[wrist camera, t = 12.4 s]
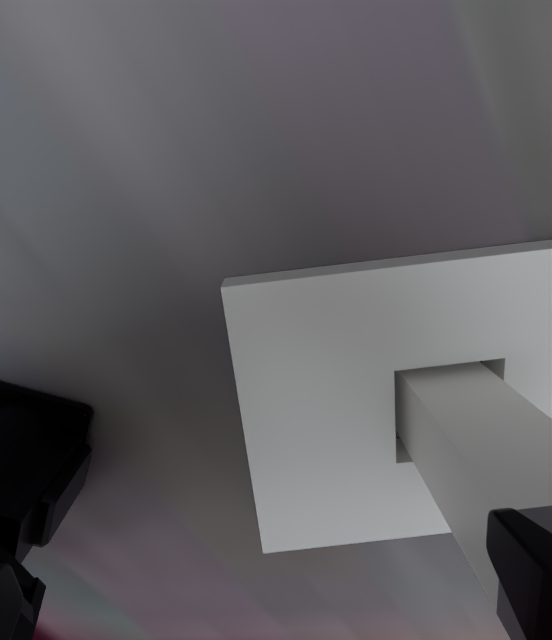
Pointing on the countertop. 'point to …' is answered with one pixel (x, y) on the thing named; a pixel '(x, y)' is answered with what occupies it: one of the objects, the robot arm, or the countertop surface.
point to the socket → (371, 378)
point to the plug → (476, 457)
